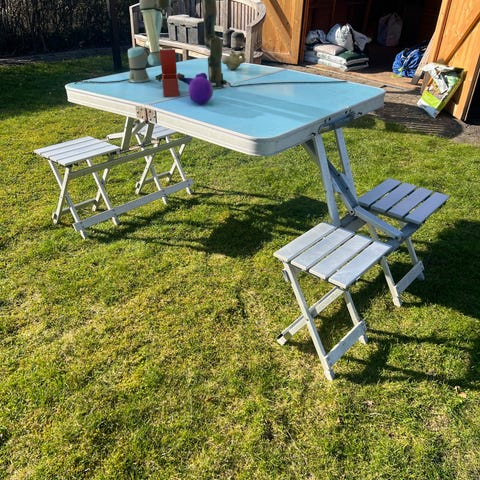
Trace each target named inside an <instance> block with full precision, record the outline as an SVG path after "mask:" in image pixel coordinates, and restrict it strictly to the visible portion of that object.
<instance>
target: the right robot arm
mask: <svg viewBox="0 0 480 480" xmlns="http://www.w3.org/2000/svg"><path fill="white" fill-rule="evenodd" d="M156 2H157V7H158V8H161V9H162V11H160V12H161V18H162V28H163V29H164V30H167V29H168V23H167V22H168V20H167V19H168V11H167V9H168V8H170V5H169V0H156ZM201 7H202V9H201V10H202V15H203V26H204V27H203V28H204V46H205V48H206V49H207V50H208V51H209V56H207V77H208V80H209V81H210V83H211V84H212V88H213V90H218V89H219V90H220V89H223V88H224V86H226V85H227V84H228V85H229V87H230V88H238V87H243V86H244V87H245V86H257V85H275V84H330V83H333V84H335V83H337V84H338V83H348V80H333V81H278V82H276V81H275V82H257V83H246V84H245V83H243V84H238V85H231V83H230V82H228V81H227V80H226V79H225V78H224V73H223V70H222V59H223V42H222V41H223V40H222V38H221V37H220V36H217V35H216V30H215V27H216V26H215V24H216V21H217V16H218V6H217V1H216V0H201ZM165 8H166V9H165Z"/></svg>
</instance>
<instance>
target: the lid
mask: <svg viewBox="0 0 480 480" xmlns="http://www.w3.org/2000/svg"><path fill="white" fill-rule="evenodd" d="M164 49H166V50H164ZM160 60H161V65H160V68H161V74H163V75H164V74H178V70H177V56H176V49H175V48H173V45H161V49H160Z"/></svg>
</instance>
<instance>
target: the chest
mask: <svg viewBox="0 0 480 480" xmlns="http://www.w3.org/2000/svg"><path fill="white" fill-rule="evenodd" d="M177 74H178V73H177ZM177 74H167V75H164V74H163V75H162V79H161V82H162V91H163V97H164V98H174V97H180V89H179V79H178V77H177Z"/></svg>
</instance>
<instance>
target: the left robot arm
mask: <svg viewBox="0 0 480 480" xmlns="http://www.w3.org/2000/svg"><path fill="white" fill-rule="evenodd" d="M171 3H172V0H169V6H170V5H171ZM165 9H166V10H167V8H165ZM139 10H140V13H142V18H143V19H142V20H143V23H144V30H145V35H146V41H145V42H144V43H143V46H133V47H130V48H129V49H127V57H128V66H129V76H128V78H125V79H121V80H120V79H119V80H108V81H97V80H95V81H93V80H85V81H84V80H76V81H75V82H74V83H73V85H76V84H78V83H87V84H88V83H90V84H91V83H93V84H111V83H121V82H127V81H128V82H129V83H133V84H141V83H148V82H150V76H149V74H148V71H147V67H146V66H147V65H149V66H152V67H153V66H156V67H157V66H161V60H160V50H161V47H160V37H161V36H160V35H161V30H162V25H163V21H162V18H161V12H160V11H162V9H161V8H158V7H157V2H156V0H139ZM163 50H166V49H163ZM162 75H167V74H162V73H160V74H157V75H155V78H154V79H155V81H158V82H159V83H161V82H162ZM177 77H178V78H186V77H185V74H182V73H180V72H177ZM83 81H84V82H83ZM88 81H89V82H88ZM178 82H181V81H180V80H179V79H178Z"/></svg>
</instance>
